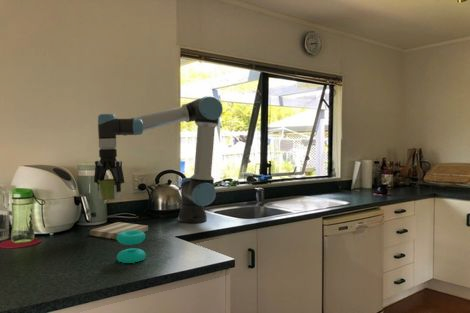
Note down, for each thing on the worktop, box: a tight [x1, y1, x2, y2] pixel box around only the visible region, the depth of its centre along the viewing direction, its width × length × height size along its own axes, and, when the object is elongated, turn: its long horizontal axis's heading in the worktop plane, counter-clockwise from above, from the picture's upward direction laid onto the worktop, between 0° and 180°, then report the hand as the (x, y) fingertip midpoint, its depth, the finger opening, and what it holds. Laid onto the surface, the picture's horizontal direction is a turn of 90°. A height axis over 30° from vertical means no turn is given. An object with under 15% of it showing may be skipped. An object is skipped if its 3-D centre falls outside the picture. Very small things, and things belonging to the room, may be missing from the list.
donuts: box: [116, 230, 147, 264], centre depth 136 cm, size 10×10×10 cm
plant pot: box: [98, 178, 115, 201], centre depth 172 cm, size 9×9×9 cm
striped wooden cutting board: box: [89, 221, 149, 240], centre depth 176 cm, size 18×18×3 cm
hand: (109, 198), depth 173 cm, fingers closed on plant pot, 8 cm apart
